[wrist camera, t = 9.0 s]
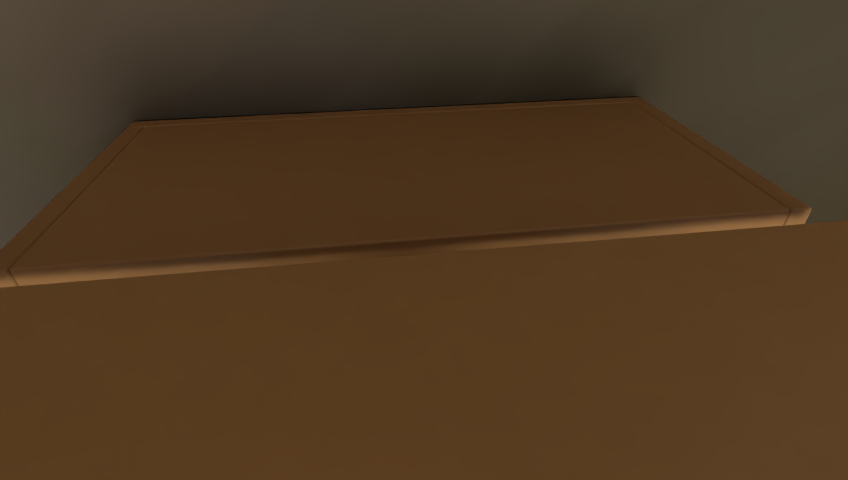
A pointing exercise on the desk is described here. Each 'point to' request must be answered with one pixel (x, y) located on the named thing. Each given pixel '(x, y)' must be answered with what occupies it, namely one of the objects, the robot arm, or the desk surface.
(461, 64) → the desk surface
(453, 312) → the flap
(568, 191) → the carton
